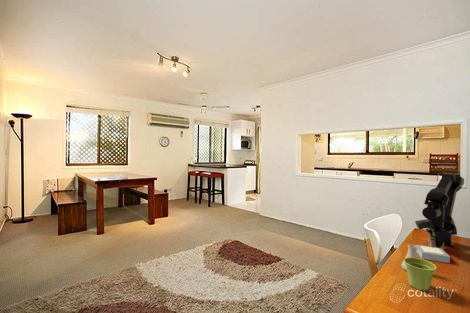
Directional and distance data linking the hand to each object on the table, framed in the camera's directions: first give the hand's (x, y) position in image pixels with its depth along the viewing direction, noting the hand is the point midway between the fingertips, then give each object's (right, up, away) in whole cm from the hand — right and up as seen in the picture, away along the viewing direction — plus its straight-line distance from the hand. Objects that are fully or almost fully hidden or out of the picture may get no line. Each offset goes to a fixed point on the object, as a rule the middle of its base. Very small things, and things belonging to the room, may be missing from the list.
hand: (435, 246), depth 119 cm
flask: (-28, -2, -21) cm, 35 cm away
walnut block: (0, -1, 0) cm, 1 cm away
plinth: (-9, -1, -9) cm, 13 cm away
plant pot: (-35, -2, -34) cm, 48 cm away
